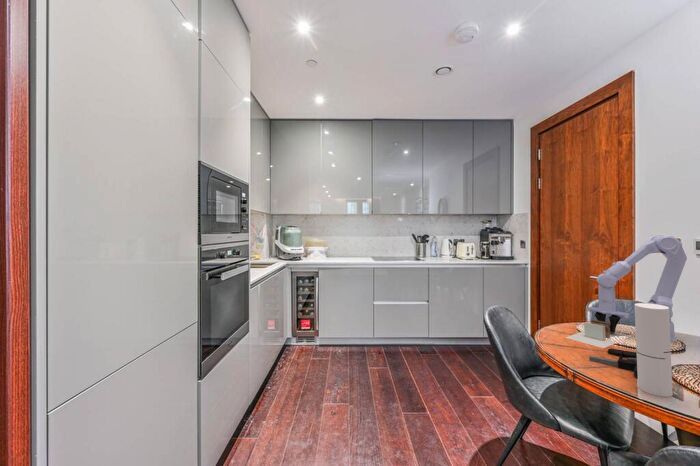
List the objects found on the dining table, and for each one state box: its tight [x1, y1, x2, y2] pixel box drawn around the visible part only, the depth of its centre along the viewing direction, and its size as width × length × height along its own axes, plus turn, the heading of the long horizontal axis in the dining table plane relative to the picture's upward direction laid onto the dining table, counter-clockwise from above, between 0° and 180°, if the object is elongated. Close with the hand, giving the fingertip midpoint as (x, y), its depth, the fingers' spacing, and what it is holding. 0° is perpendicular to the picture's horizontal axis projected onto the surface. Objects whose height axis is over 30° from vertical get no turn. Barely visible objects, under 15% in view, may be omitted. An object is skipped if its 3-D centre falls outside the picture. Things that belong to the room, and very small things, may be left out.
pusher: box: [589, 319, 616, 338], centre depth 131 cm, size 11×6×6 cm, turn 116°
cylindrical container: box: [634, 302, 674, 398], centre depth 87 cm, size 7×7×25 cm
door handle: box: [588, 348, 638, 379], centre depth 104 cm, size 3×20×16 cm
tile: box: [583, 321, 606, 341], centre depth 127 cm, size 2×7×6 cm, turn 26°
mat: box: [564, 330, 633, 349], centre depth 129 cm, size 25×14×1 cm, turn 116°
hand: (608, 330), depth 132 cm, fingers open, 3 cm apart
